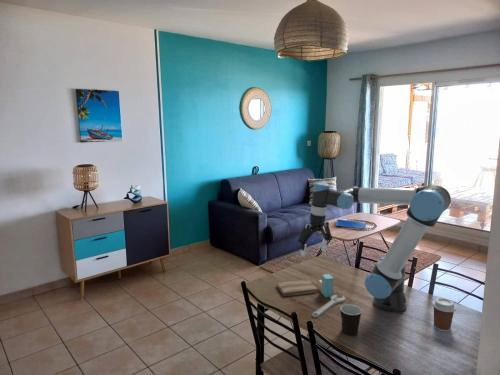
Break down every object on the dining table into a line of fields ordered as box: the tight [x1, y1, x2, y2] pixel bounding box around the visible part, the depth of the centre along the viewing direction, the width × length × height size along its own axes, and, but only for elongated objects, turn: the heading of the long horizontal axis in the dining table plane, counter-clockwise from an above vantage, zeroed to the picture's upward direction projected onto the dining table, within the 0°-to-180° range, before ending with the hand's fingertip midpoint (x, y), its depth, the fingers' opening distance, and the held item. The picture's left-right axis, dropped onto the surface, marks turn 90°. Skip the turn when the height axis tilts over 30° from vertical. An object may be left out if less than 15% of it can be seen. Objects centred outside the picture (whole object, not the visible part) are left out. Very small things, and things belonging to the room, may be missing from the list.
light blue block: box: [318, 273, 335, 298], centre depth 189 cm, size 11×4×10 cm, turn 14°
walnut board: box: [276, 278, 318, 297], centre depth 193 cm, size 12×18×2 cm, turn 104°
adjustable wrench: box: [311, 294, 346, 318], centre depth 175 cm, size 25×6×2 cm, turn 132°
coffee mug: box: [339, 304, 363, 337], centre depth 155 cm, size 12×9×10 cm
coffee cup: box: [431, 297, 457, 332], centre depth 156 cm, size 9×9×12 cm
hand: (313, 253), depth 185 cm, fingers open, 13 cm apart
